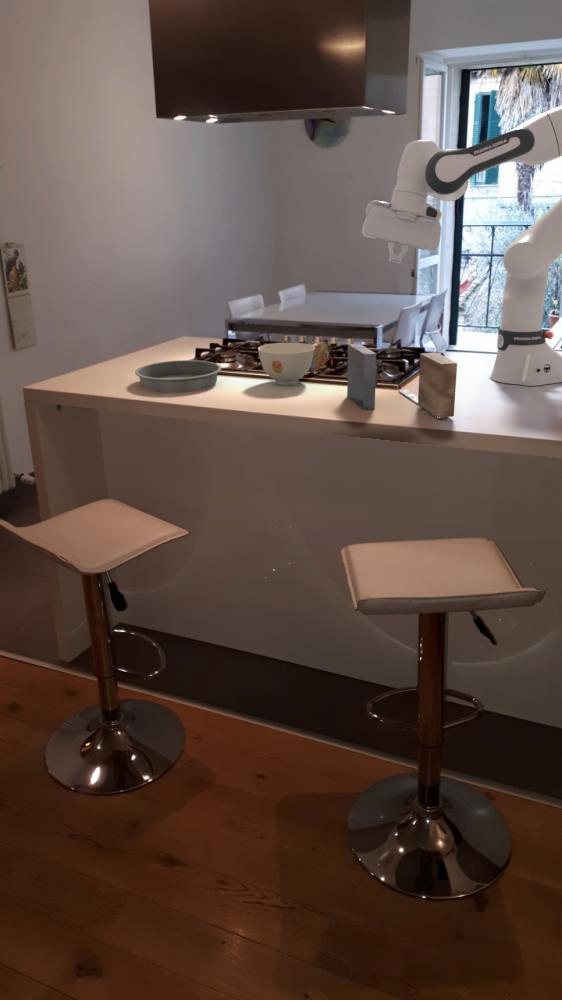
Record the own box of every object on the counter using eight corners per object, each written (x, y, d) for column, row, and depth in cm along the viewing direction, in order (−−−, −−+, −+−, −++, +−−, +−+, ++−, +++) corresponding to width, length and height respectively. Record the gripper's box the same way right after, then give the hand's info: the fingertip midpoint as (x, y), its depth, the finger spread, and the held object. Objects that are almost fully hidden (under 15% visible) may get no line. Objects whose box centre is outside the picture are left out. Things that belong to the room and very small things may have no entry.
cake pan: (171, 371, 248) (170, 356, 247) (238, 379, 237) (237, 364, 235) (118, 388, 229) (116, 372, 227) (187, 398, 217) (186, 382, 215)
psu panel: (406, 391, 220) (409, 339, 214) (446, 417, 195) (450, 359, 190) (346, 395, 216) (346, 343, 211) (378, 422, 192) (380, 364, 187)
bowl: (326, 381, 232) (326, 346, 228) (288, 392, 221) (288, 355, 217) (285, 373, 242) (284, 340, 238) (247, 383, 231) (246, 348, 227)
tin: (311, 377, 238) (311, 348, 234) (301, 376, 239) (301, 347, 236) (330, 366, 250) (331, 339, 247) (321, 366, 251) (321, 339, 248)
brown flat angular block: (432, 402, 205) (435, 352, 200) (453, 416, 193) (457, 363, 188) (417, 404, 204) (420, 353, 199) (438, 417, 192) (441, 364, 187)
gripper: (370, 196, 204) (358, 252, 207) (447, 214, 206) (434, 269, 209) (366, 199, 210) (354, 253, 213) (441, 217, 212) (428, 270, 215)
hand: (394, 261), depth 211 cm, fingers closed
